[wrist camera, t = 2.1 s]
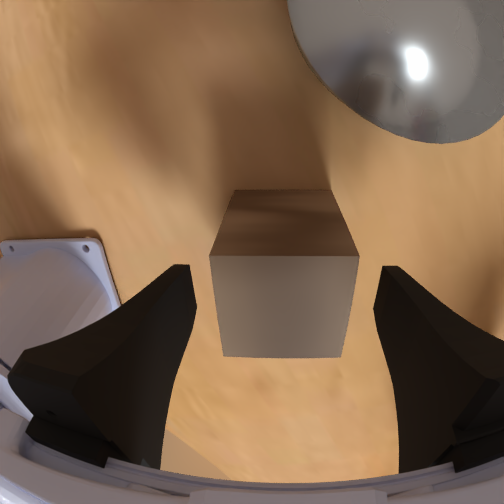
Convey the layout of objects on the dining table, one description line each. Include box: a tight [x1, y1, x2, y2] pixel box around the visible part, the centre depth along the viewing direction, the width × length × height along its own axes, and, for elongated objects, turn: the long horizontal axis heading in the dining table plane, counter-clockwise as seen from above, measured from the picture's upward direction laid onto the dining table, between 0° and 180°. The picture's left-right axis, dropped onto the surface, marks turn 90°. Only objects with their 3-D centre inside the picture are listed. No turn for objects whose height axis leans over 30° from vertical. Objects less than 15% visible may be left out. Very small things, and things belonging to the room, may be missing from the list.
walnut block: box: [209, 190, 360, 358], centre depth 13 cm, size 4×4×6 cm
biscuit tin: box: [287, 0, 504, 144], centre depth 9 cm, size 10×10×3 cm
